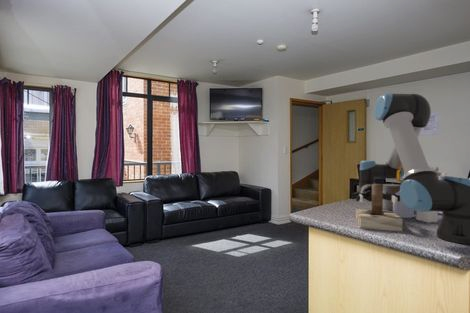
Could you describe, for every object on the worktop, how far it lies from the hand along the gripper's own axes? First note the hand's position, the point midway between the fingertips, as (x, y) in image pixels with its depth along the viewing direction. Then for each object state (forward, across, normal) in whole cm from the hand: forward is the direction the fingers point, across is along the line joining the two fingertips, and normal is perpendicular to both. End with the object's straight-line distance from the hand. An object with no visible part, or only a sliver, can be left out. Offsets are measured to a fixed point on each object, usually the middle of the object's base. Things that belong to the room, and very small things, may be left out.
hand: (379, 200), depth 131 cm
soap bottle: (-26, -16, -12) cm, 33 cm away
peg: (-3, 0, -12) cm, 12 cm away
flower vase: (-41, -31, -12) cm, 53 cm away
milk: (-18, -24, -12) cm, 33 cm away
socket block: (-3, 0, -12) cm, 12 cm away
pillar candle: (-44, -15, -12) cm, 48 cm away
